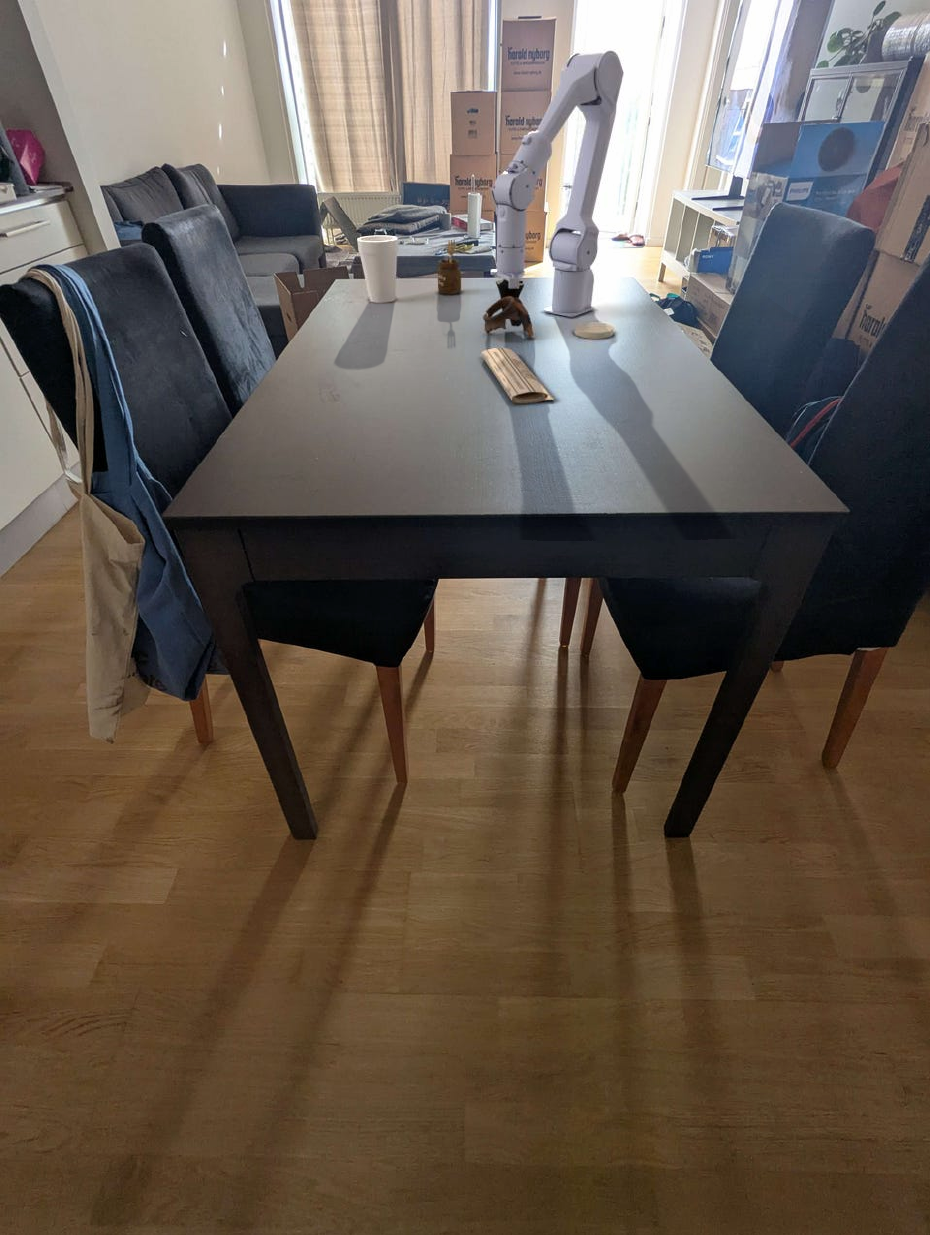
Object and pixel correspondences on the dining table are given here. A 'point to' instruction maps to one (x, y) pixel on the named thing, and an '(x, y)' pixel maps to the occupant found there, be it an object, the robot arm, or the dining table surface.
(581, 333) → the tan round disc
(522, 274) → the robot arm
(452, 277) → the utensil holder
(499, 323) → the brown curved piece
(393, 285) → the foam cup
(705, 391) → the dining table surface
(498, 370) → the newspaper
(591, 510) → the dining table surface
